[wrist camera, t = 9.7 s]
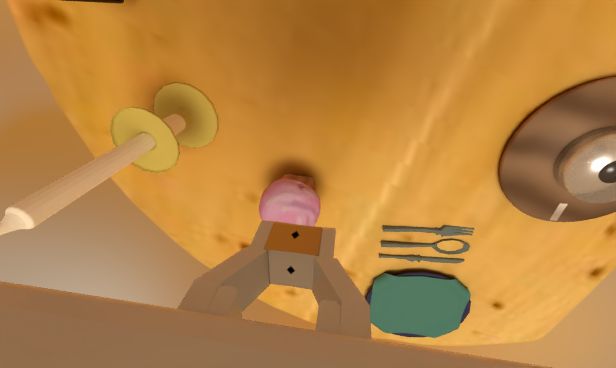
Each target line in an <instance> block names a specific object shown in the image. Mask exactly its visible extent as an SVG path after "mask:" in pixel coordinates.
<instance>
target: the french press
mask: <svg viewBox="0 0 616 368" xmlns="http://www.w3.org/2000/svg"><path fill="white" fill-rule="evenodd" d="M63 1H83V2H103V3H123V2H124V0H63Z"/></svg>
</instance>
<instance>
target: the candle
mask: <svg viewBox="0 0 616 368" xmlns="http://www.w3.org/2000/svg"><path fill="white" fill-rule="evenodd" d="M153 106H154V112H155V114H154V113H152V112H151V111H149V110H147V109H142V108H137V107H129V108H125V109H121V110H119V111H118V112H117V113H116V114H115V115H114V116H113V118H112V120H111V126H110V132H111V136H112V140H113V143H114V144H115V146H116V148H114V149H112V150H110V151H108V152H107V153H105V154H103V155H101V156H99V157H98V158H96V159H94V160H92V161H90V162H89V163H87V164H85V165H83V166H81V167H80V168H78V169H76V170H74V171H72V172H71V173H69V174H67V175H65V176H63V177H62V178H60V179H58V180H56V181H54V182H53V183H51V184H49V185H47V186H46V187H44V188H42V189H40V190H38V191H36V192H35V193H33V194H31V195H29V196H27V197H26V198H24V199H22V200H20V201H19V202H17V203H15V204H13V205H11V206H9V207H8V208H7V209H6V211H5V217H4V218H3V220H2V221H1V222H0V235H2V234H5V233H8V232H11V231H14V230H18V229H32V228H34V227H35V226H37V225H38V224H40V223H41V222H43V221H44V220H46V219H47V218H49V217H50V216H52V215H53V214H55V213H56V212H58V211H59V210H61V209H62V208H64V207H65V206H67V205H68V204H70V203H71V202H73V201H74V200H76V199H77V198H79V197H80V196H82V195H83V194H85V193H86V192H88V191H89V190H91V189H92V188H94V187H95V186H97V185H99V184H100V183H101V182H103V181H104V180H106V179H107V178H109V177H111V176H112V175H114V174H115V173H117V172H118V171H120V170H121V169H123V168H124V167H126V166H127V165H129V164H130V163H131V164H132V165H134V166H136V167H138V168H139V169H141V170H143V171H146V172H152V173H162V172H167V171H169V170H170V169H171V168H172V167H173V166H175V165H176V163H177V160H178V157H179V154H180V152H179V144H180V145H182V146H186V147H191V148H198V147H203V146H206V145H207V144H209V143H210V142H211V141H212V140H214V138H215V136H216V133H217V131H218V116H217V113H216V111H215V109H214V106H213V104H212V103H211V101H210V100H209V99H208V98H207V97H206V96H205V94H204V93H203V92H201V91H200V90H198V89H196V88H195V87H193V86H191V85H190V84H184V83H179V82H175V83H171V84H168V85H164V86H163V87H162V88H161V89H160V90H159V92H158V93H157V94H156V97H155V101H154V105H153Z"/></svg>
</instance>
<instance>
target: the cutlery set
mask: <svg viewBox="0 0 616 368" xmlns="http://www.w3.org/2000/svg"><path fill="white" fill-rule="evenodd" d="M382 229H383V231H384V232H426V233H436V235H438V234H441V236H442V237H443V236H454V235H472V234H469V233H459V232H472V233H473V231H468V230H461V229H471V230H474V228H467V227H457V226H448V225H443V226H442V227H441V228H437V227H436V229H434V228H424V227H406V226H383V228H382ZM448 240H454V239H446V240H441V241H439V242H442V241H448ZM455 241H459V240H455ZM439 242H437V243H439ZM460 242H461V243H463V244H464V245H463V248H462V249H459V250H456V251H444V250H440V249H439V248H438V247H437V243H433V244H419V243H397V242H386V241H381V247H431V246H432V247H433V248H434V249H435V250H436V251H438V252H439V253H444V254H460V253H463V252H466V251H468V250H469V247H470V246H469V245H468V244H466V243H465V242H463V241H460ZM381 257H383V258H397V259H406V260H409V261H412V262H413V261H415V260H416V261H418V262H419V261H420V260H423V261H430V262H441V263H460V262H463V261H464V259H455V258H438V257H421V256H420V255H417V256H414V255H409V256H390V255H381V254H380V253H379V258H381ZM366 301H367V303H368V304H369V305H370V322H371V323H372V324H374V325H375V326H376V327H378V328H379V329H380V330H382V331H383V332H385V333H392V334H395V335H400V336H406V337H432V338H436V337H439V336H442V335H445V334H447V333H450V332H452V331H454V330H456V329H458V328H459V325H460V323H462V322H463V321H464V319H465V318H466V316H467V315H468V313H469V311H470V303H471V301H470V292H469V290H468V289H467V288H465V287H464V286H463V285H462V284H461V283H460V282H459V281H458V280H457V279H455V280H452V279H449V278H447V277H445V276H443V275H440V274H434V273H428V272H405V273H402V274H398V275H394V276H393V275H390V274H387V273H383V274H382V275H380V276H378V277H377V278H376V279H375V280H374V283H373V288H372V289H371V290H370V291H369V292H368V294H367V297H366Z"/></svg>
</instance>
